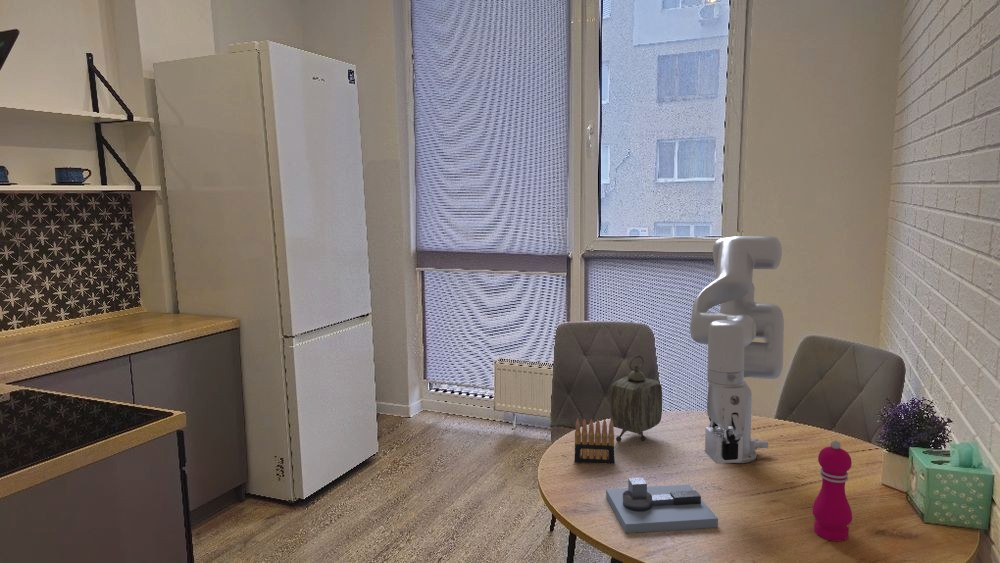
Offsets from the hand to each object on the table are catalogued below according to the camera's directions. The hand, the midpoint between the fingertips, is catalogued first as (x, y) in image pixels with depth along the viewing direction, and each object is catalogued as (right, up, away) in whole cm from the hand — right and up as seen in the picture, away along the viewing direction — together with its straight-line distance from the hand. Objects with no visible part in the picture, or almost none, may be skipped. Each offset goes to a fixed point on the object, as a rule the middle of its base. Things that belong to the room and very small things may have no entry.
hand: (723, 452), depth 139 cm
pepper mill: (+18, -14, -12) cm, 26 cm away
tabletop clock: (-10, -8, +41) cm, 43 cm away
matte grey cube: (0, -1, 0) cm, 1 cm away
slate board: (-15, -13, -1) cm, 20 cm away
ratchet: (-15, -11, -2) cm, 18 cm away
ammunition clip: (-25, -10, +26) cm, 37 cm away
